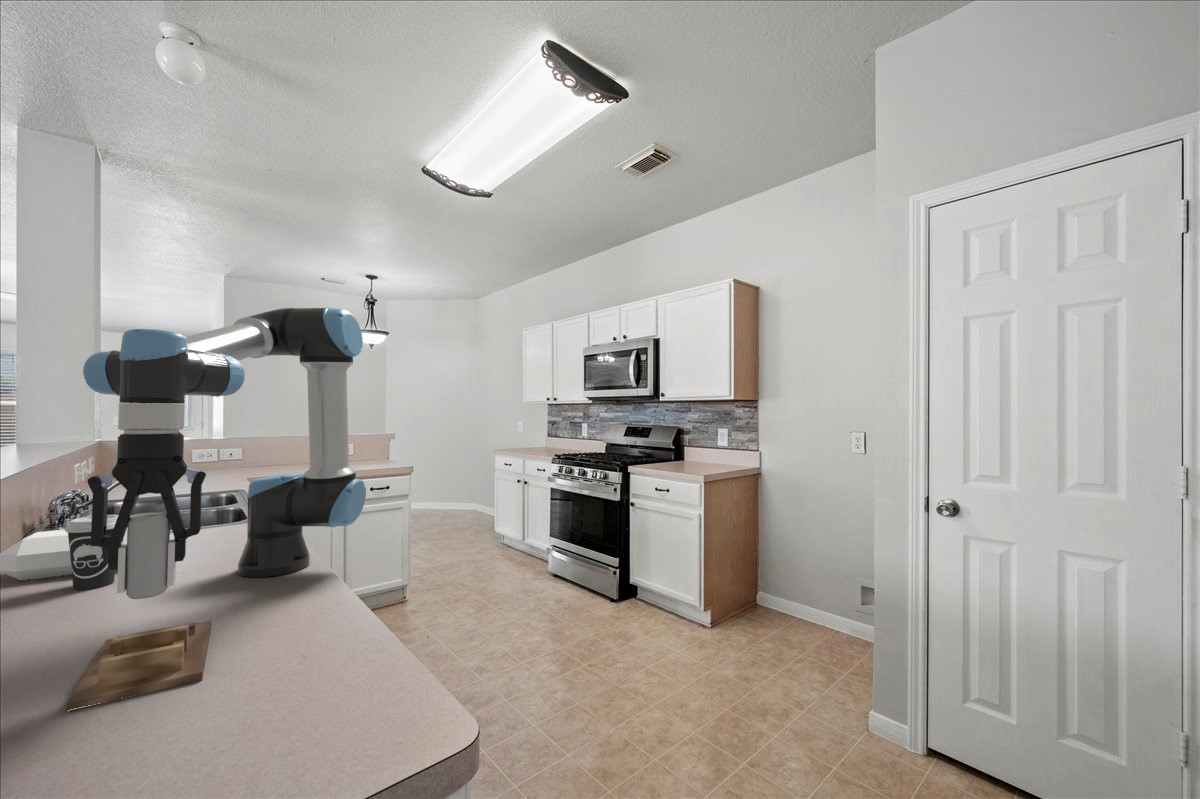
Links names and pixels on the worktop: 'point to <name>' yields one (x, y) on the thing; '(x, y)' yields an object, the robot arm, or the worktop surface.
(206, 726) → the worktop surface
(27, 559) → the crystal
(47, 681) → the worktop surface
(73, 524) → the coffee cup
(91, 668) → the board
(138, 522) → the beverage can
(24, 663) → the worktop surface
